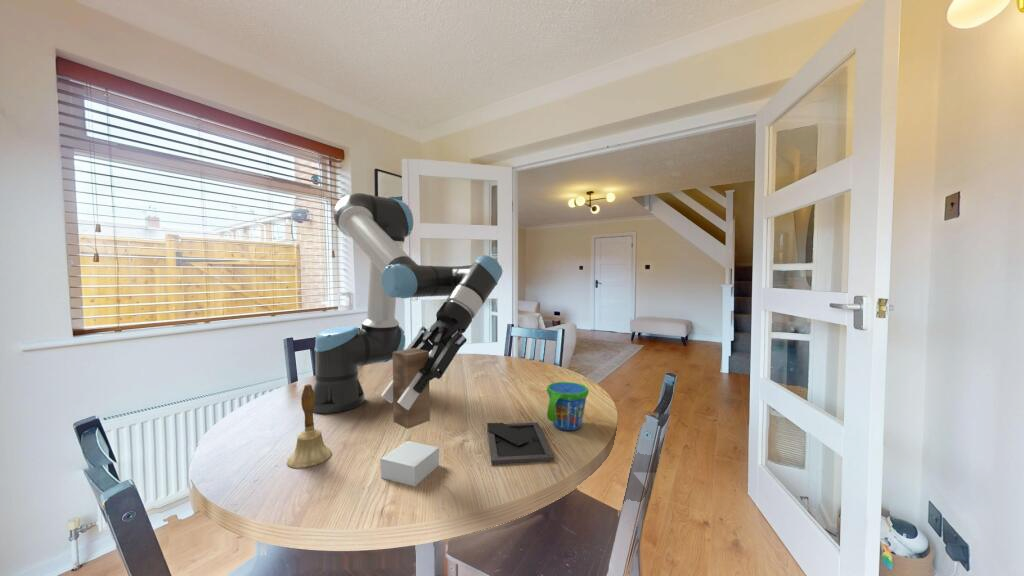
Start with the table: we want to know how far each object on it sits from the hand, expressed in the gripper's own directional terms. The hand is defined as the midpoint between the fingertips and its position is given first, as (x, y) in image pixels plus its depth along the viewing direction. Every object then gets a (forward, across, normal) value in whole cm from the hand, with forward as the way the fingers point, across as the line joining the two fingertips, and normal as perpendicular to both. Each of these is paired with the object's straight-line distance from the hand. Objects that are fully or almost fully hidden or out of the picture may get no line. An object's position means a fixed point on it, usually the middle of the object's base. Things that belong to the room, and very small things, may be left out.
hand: (394, 402), depth 66 cm
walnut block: (+1, 0, -6) cm, 6 cm away
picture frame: (-8, -9, -30) cm, 32 cm away
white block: (+8, 0, -13) cm, 16 cm away
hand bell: (+16, +21, -6) cm, 27 cm away
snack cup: (-19, -13, -41) cm, 47 cm away
